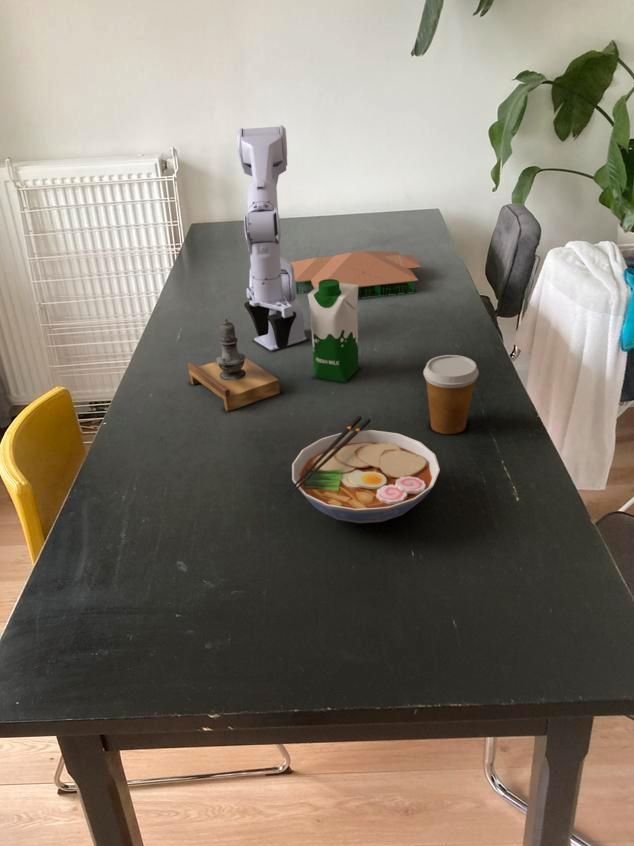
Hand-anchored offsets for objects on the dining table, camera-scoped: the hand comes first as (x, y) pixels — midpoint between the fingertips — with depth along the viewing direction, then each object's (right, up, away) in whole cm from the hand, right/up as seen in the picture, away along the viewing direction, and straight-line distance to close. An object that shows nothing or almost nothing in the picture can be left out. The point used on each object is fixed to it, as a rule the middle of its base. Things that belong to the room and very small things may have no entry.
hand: (272, 340), depth 165 cm
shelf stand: (-8, -10, 0) cm, 12 cm away
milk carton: (+13, -6, +3) cm, 15 cm away
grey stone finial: (-8, -7, -2) cm, 11 cm away
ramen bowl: (+16, -34, -36) cm, 53 cm away
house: (+20, +24, +45) cm, 55 cm away
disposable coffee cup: (+33, -20, -18) cm, 42 cm away
